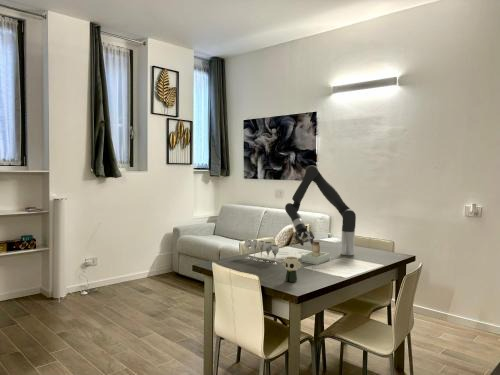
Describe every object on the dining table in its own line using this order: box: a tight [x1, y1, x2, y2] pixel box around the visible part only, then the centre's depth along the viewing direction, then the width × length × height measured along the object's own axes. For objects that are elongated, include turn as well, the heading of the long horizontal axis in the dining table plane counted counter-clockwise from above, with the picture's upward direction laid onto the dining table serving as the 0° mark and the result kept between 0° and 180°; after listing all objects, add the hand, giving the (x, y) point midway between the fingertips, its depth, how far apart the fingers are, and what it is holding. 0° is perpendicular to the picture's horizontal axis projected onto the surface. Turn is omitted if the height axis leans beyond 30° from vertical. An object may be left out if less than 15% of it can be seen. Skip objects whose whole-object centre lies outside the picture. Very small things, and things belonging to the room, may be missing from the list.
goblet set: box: [244, 239, 280, 265], centre depth 266 cm, size 28×6×13 cm, turn 50°
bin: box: [300, 251, 331, 266], centre depth 269 cm, size 18×12×4 cm, turn 143°
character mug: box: [282, 256, 302, 283], centre depth 218 cm, size 11×7×13 cm, turn 57°
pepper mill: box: [311, 240, 321, 257], centre depth 269 cm, size 5×5×12 cm
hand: (307, 244), depth 277 cm, fingers open, 8 cm apart
